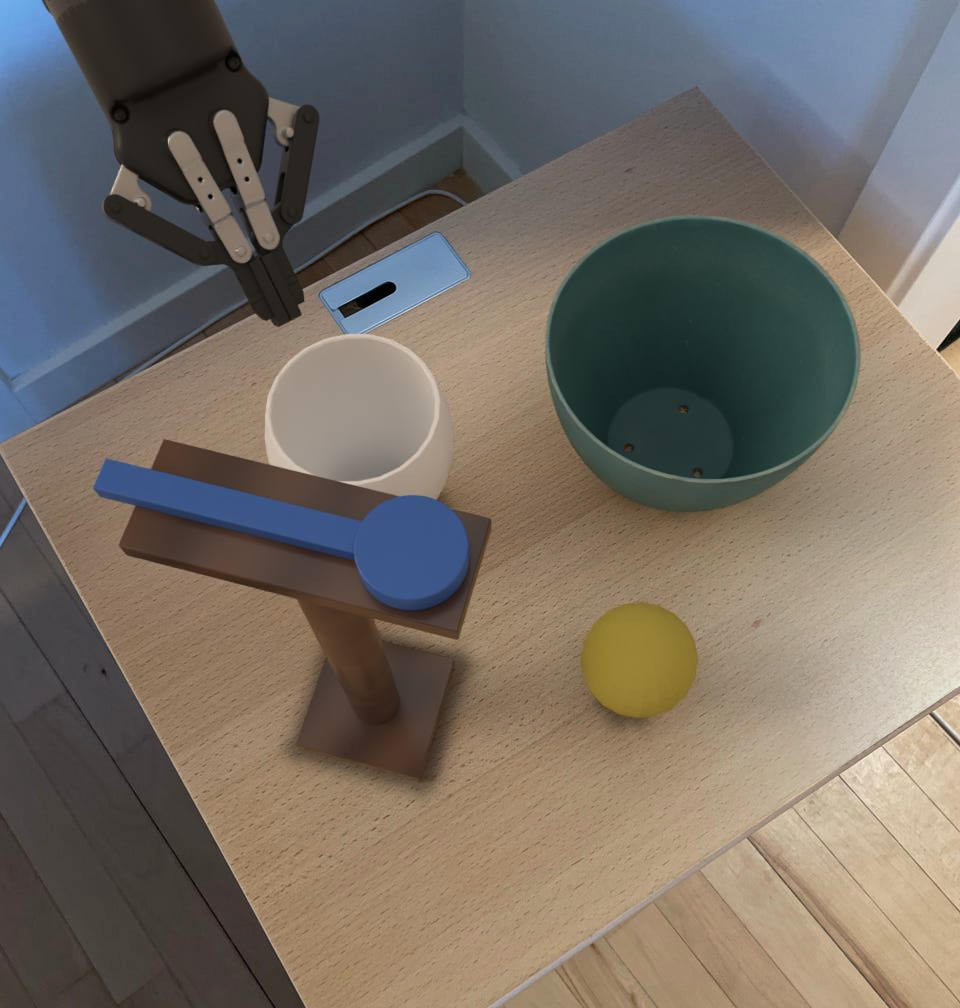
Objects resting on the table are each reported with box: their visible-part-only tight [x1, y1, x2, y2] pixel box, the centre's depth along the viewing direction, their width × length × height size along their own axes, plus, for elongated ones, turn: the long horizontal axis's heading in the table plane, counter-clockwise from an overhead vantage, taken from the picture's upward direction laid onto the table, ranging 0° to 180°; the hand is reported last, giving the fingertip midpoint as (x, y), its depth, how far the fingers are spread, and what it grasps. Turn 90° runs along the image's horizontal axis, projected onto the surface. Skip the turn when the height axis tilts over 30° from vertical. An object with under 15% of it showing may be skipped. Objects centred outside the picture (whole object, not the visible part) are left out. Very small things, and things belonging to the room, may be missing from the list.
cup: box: [264, 333, 455, 500], centre depth 62 cm, size 11×11×15 cm
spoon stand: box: [118, 438, 492, 782], centre depth 53 cm, size 14×8×26 cm, turn 75°
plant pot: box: [544, 214, 862, 514], centre depth 65 cm, size 18×18×12 cm
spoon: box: [92, 458, 470, 610], centre depth 40 cm, size 15×4×1 cm, turn 75°
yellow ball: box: [580, 601, 699, 719], centre depth 60 cm, size 7×7×10 cm
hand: (288, 320), depth 58 cm, fingers closed
